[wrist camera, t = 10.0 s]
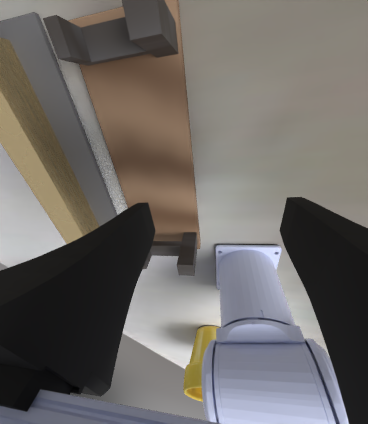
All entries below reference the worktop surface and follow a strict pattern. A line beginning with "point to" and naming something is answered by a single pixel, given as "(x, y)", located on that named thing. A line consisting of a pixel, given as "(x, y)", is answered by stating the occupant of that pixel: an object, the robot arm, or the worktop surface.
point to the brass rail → (39, 151)
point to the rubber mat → (58, 108)
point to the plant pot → (198, 362)
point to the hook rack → (141, 111)
